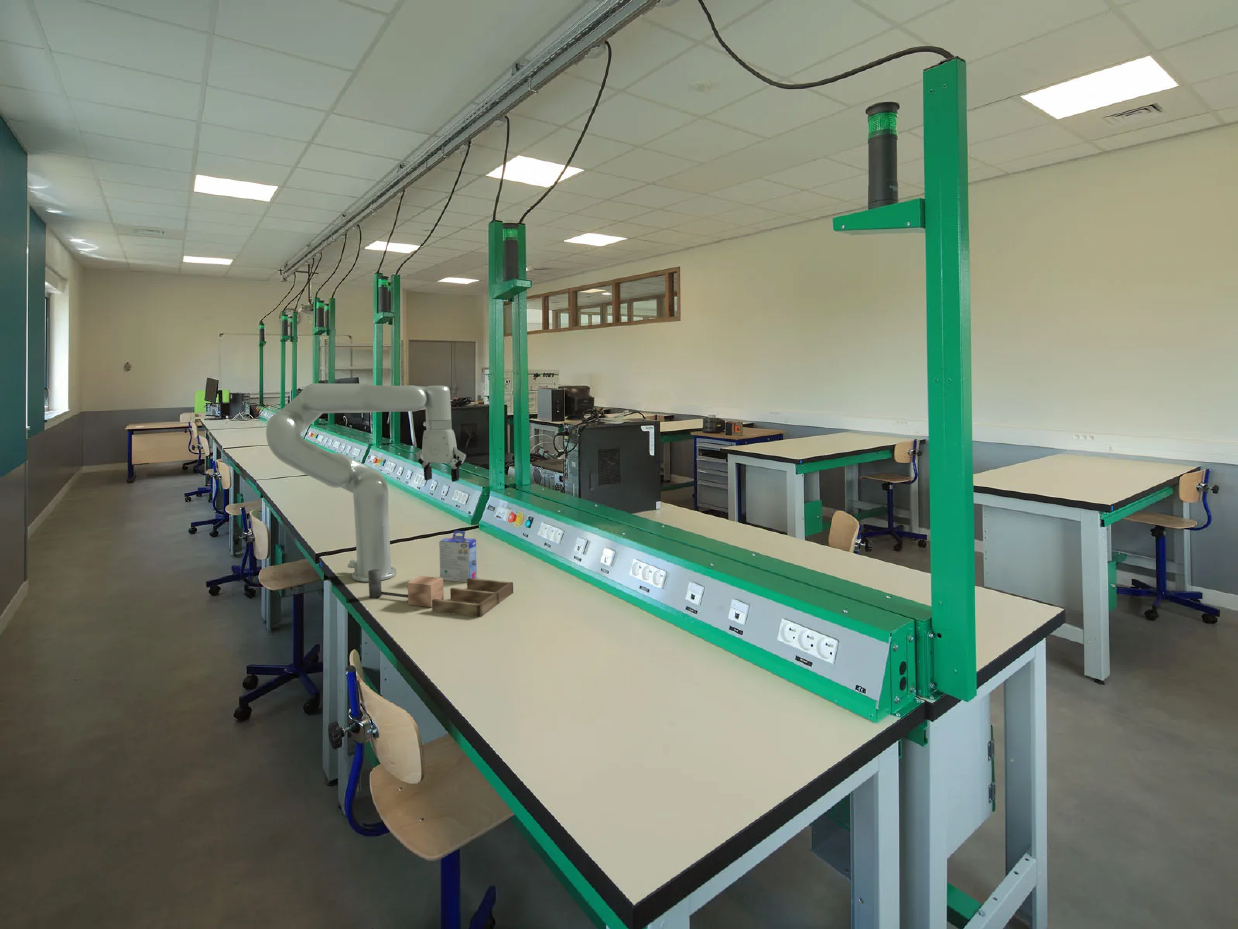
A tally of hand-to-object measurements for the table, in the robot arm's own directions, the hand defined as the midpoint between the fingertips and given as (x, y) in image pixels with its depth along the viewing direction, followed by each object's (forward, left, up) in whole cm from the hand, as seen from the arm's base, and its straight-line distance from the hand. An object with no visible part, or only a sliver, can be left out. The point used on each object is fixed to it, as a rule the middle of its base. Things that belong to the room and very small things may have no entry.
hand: (441, 480), depth 195 cm
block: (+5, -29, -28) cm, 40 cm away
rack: (+24, -24, -28) cm, 44 cm away
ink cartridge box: (+10, -8, -29) cm, 31 cm away
